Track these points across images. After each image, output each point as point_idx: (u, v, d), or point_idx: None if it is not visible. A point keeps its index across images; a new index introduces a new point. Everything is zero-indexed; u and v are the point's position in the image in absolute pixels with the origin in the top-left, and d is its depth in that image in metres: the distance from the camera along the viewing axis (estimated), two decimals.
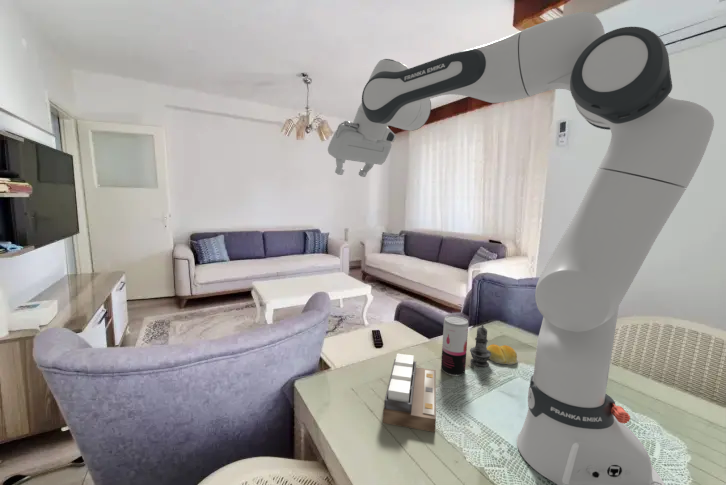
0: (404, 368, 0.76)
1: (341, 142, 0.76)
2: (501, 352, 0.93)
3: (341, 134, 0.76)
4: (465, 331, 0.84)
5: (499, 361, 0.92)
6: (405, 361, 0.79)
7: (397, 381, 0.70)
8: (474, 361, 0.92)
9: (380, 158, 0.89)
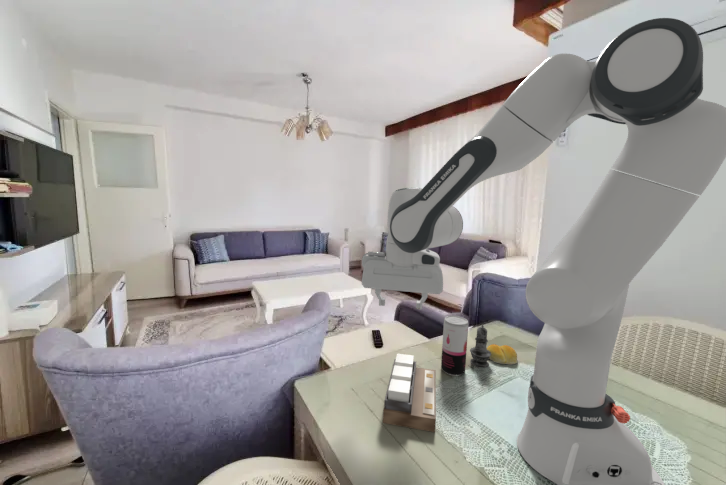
0: (404, 368, 0.76)
1: (363, 271, 0.78)
2: (501, 352, 0.93)
3: (365, 264, 0.78)
4: (465, 331, 0.84)
5: (499, 361, 0.92)
6: (405, 361, 0.79)
7: (397, 381, 0.70)
8: (474, 361, 0.92)
9: (432, 285, 0.75)
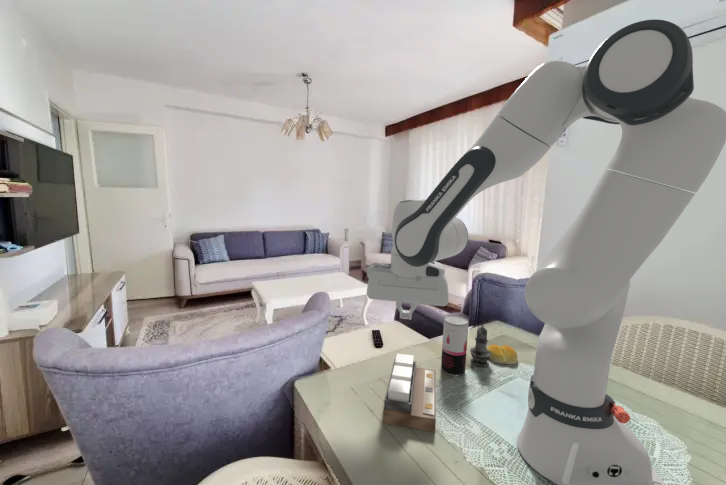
0: (404, 368, 0.76)
1: (368, 282, 0.78)
2: (501, 352, 0.93)
3: (370, 275, 0.78)
4: (465, 331, 0.84)
5: (500, 361, 0.92)
6: (405, 361, 0.79)
7: (397, 381, 0.70)
8: (474, 361, 0.92)
9: (437, 297, 0.75)
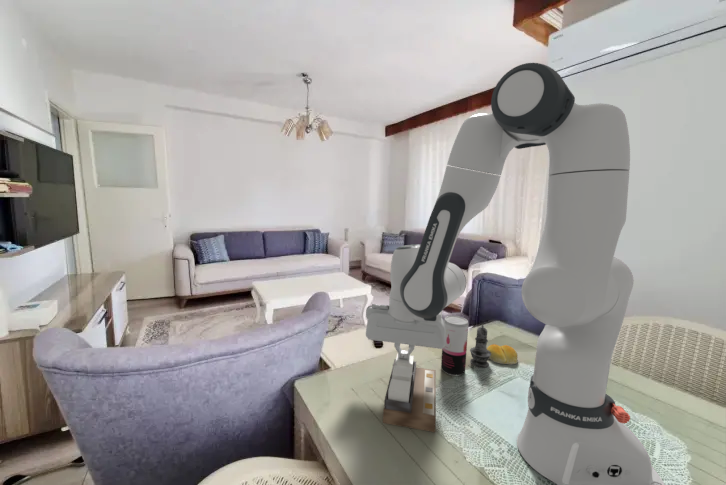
0: (404, 368, 0.76)
1: (367, 323, 0.80)
2: (502, 352, 0.93)
3: (369, 316, 0.80)
4: (465, 331, 0.84)
5: (500, 361, 0.92)
6: (405, 361, 0.79)
7: (397, 381, 0.70)
8: (474, 361, 0.92)
9: (434, 340, 0.76)
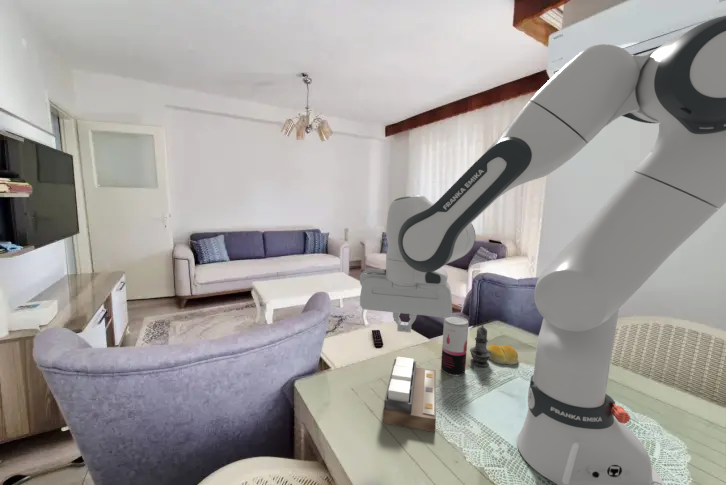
0: (404, 368, 0.76)
1: (361, 290, 0.69)
2: (502, 352, 0.93)
3: (363, 282, 0.70)
4: (465, 331, 0.84)
5: (500, 361, 0.92)
6: (405, 364, 0.79)
7: (397, 381, 0.70)
8: (474, 361, 0.92)
9: (439, 307, 0.65)
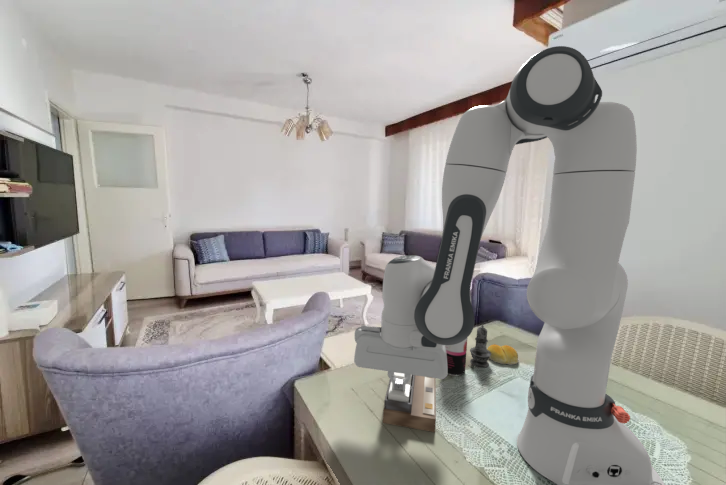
0: None
1: (356, 348, 0.68)
2: (502, 352, 0.93)
3: (358, 340, 0.69)
4: None
5: (500, 361, 0.92)
6: None
7: None
8: (474, 361, 0.92)
9: (435, 369, 0.65)
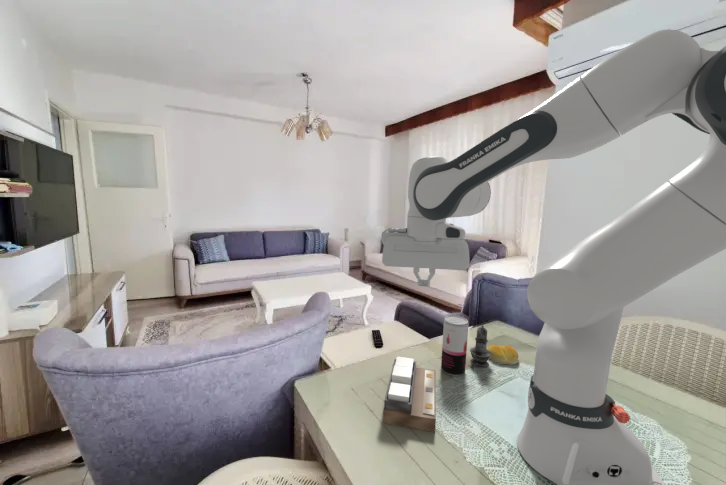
0: (404, 368, 0.76)
1: (384, 248, 0.74)
2: (503, 352, 0.93)
3: (385, 241, 0.74)
4: (465, 331, 0.84)
5: (501, 361, 0.92)
6: (405, 364, 0.79)
7: (397, 385, 0.70)
8: (474, 361, 0.92)
9: (457, 261, 0.71)
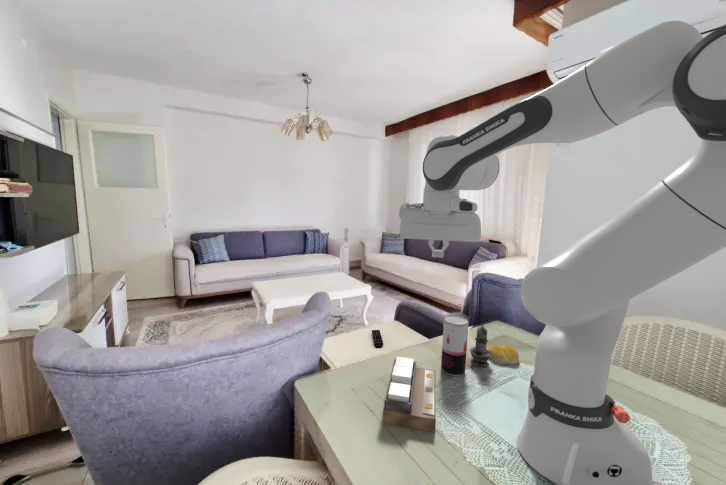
0: (404, 368, 0.76)
1: (401, 221, 0.80)
2: (503, 352, 0.93)
3: (402, 215, 0.80)
4: (465, 331, 0.84)
5: (501, 361, 0.92)
6: (405, 364, 0.79)
7: (397, 385, 0.70)
8: (474, 361, 0.92)
9: (470, 233, 0.76)
